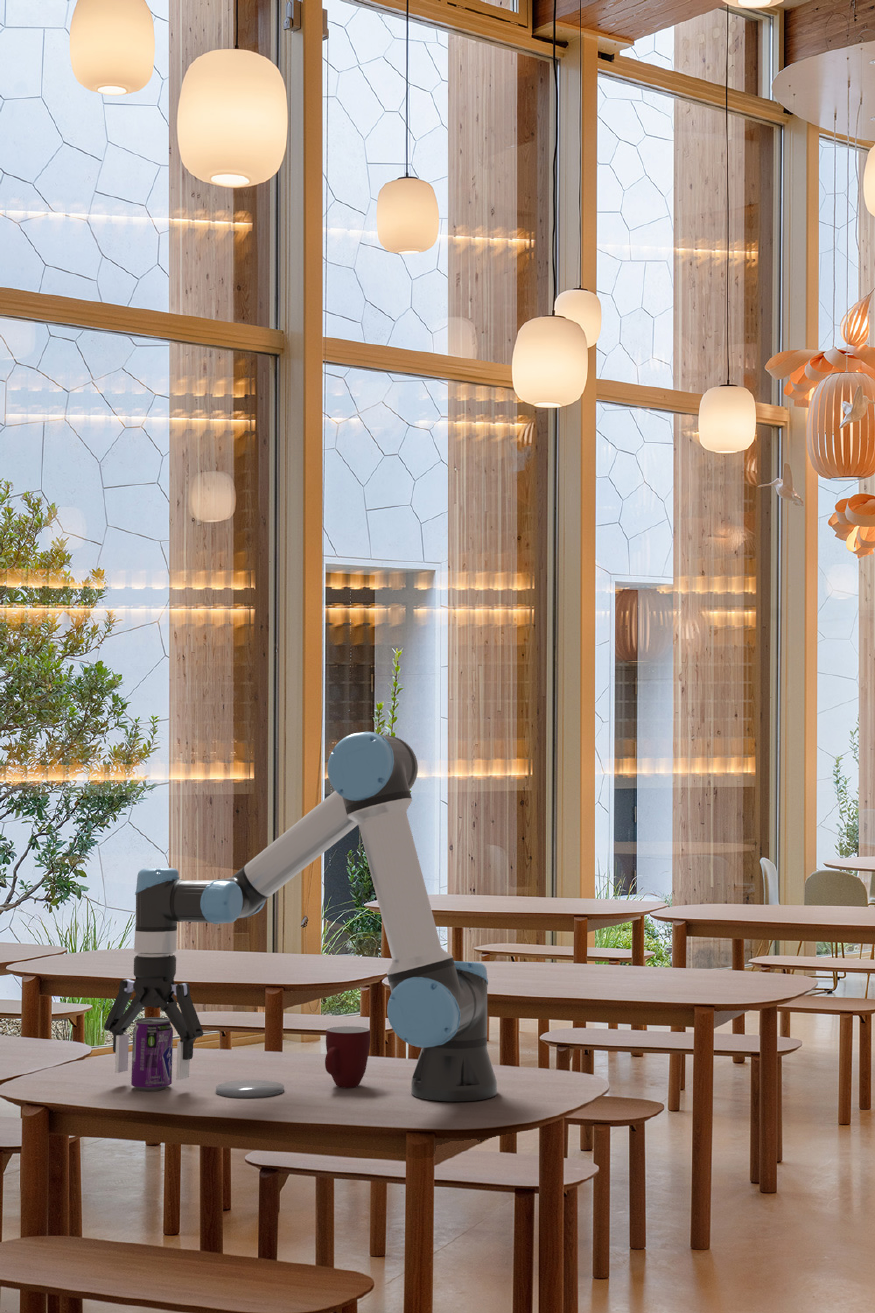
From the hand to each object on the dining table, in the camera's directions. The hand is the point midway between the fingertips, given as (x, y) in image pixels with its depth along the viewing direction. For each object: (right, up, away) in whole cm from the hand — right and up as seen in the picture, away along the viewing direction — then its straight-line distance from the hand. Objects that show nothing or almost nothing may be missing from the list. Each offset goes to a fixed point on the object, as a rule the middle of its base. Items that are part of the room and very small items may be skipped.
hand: (151, 1075), depth 250 cm
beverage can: (0, -2, 0) cm, 2 cm away
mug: (+34, -3, +2) cm, 35 cm away
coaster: (+18, -2, -2) cm, 18 cm away
